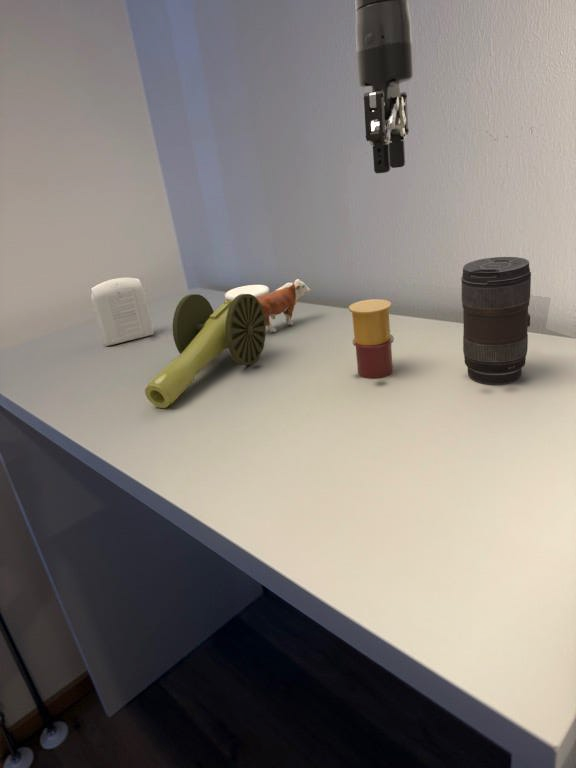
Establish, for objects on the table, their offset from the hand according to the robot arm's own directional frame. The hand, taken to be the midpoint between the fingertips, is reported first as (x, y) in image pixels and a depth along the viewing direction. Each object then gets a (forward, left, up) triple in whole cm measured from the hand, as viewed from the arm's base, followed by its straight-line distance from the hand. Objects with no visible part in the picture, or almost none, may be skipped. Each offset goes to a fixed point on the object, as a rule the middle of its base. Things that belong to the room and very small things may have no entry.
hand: (390, 169), depth 82 cm
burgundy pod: (+11, +12, -26) cm, 31 cm away
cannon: (+33, -3, -26) cm, 42 cm away
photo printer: (+43, -33, -26) cm, 60 cm away
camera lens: (-1, +23, -26) cm, 35 cm away
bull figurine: (+15, -18, -26) cm, 35 cm away
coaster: (+16, -38, -26) cm, 49 cm away
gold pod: (+11, +12, -21) cm, 27 cm away
